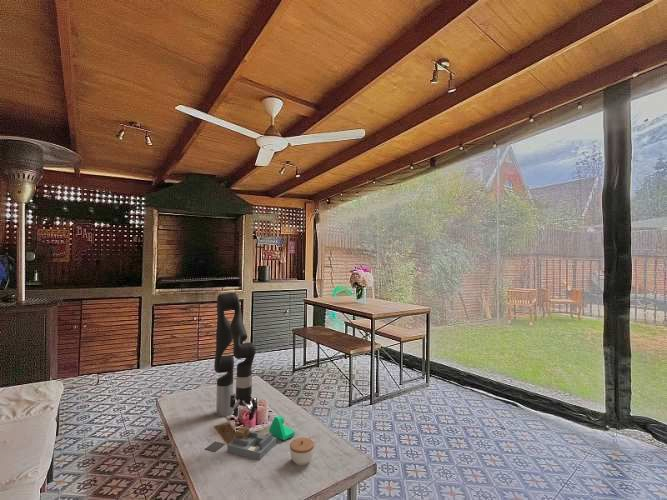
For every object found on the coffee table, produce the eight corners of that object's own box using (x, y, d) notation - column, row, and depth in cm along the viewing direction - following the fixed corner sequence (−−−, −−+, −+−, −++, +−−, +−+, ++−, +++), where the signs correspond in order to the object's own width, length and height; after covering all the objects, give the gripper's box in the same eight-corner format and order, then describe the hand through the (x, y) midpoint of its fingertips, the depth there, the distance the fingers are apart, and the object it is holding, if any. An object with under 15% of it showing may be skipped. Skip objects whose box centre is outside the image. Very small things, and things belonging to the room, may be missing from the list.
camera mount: (295, 436, 169) (295, 416, 169) (283, 442, 164) (283, 421, 164) (281, 428, 177) (281, 409, 178) (269, 433, 172) (269, 413, 172)
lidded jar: (291, 454, 154) (292, 433, 154) (314, 454, 153) (315, 434, 154) (288, 468, 143) (288, 446, 143) (312, 469, 143) (312, 447, 143)
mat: (215, 441, 164) (215, 441, 164) (225, 444, 161) (225, 443, 161) (204, 449, 157) (204, 448, 157) (215, 452, 155) (215, 451, 155)
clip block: (242, 435, 164) (242, 426, 164) (249, 437, 162) (249, 428, 162) (236, 440, 159) (236, 431, 159) (242, 442, 158) (243, 432, 158)
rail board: (245, 436, 168) (245, 424, 169) (276, 443, 162) (276, 431, 162) (227, 451, 155) (227, 438, 156) (260, 459, 149) (260, 446, 149)
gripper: (260, 383, 163) (260, 417, 162) (236, 379, 168) (236, 411, 167) (251, 389, 156) (251, 424, 155) (226, 385, 161) (226, 418, 160)
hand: (243, 417), depth 161 cm, fingers open, 8 cm apart
